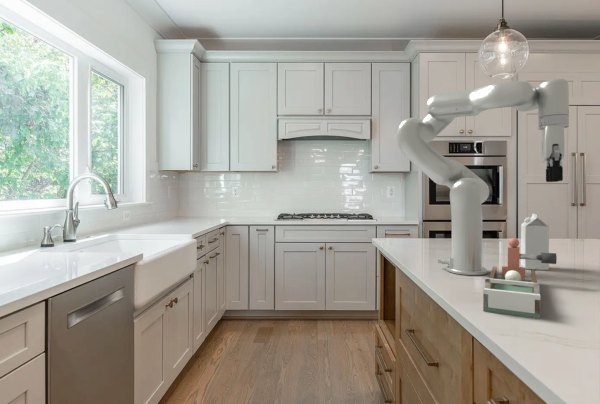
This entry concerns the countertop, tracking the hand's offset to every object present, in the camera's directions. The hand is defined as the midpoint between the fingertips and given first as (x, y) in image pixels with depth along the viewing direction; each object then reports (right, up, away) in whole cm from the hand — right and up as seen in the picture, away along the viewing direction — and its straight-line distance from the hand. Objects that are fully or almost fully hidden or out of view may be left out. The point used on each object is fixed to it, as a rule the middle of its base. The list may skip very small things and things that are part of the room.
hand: (554, 181), depth 114 cm
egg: (-15, -27, -6) cm, 32 cm away
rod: (-8, -29, -1) cm, 30 cm away
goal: (-27, -30, -26) cm, 48 cm away
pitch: (-19, -30, -13) cm, 38 cm away
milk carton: (+8, -30, +22) cm, 38 cm away
